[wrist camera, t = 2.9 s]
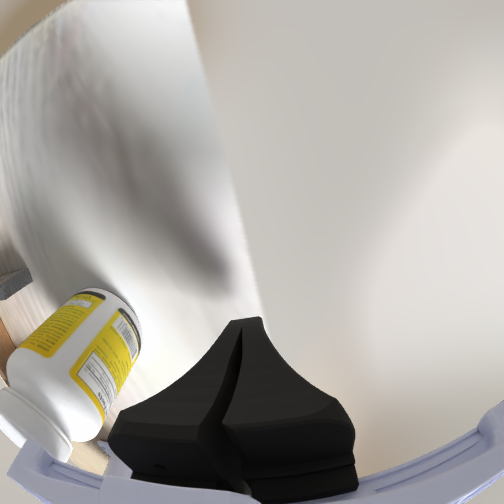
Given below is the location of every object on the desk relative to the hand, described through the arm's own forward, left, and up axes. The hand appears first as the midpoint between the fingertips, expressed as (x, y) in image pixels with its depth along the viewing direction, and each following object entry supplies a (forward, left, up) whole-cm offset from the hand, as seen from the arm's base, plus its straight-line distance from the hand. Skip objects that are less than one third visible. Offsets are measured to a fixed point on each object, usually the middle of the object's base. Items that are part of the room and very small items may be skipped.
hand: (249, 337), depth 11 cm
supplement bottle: (0, +9, -3) cm, 10 cm away
